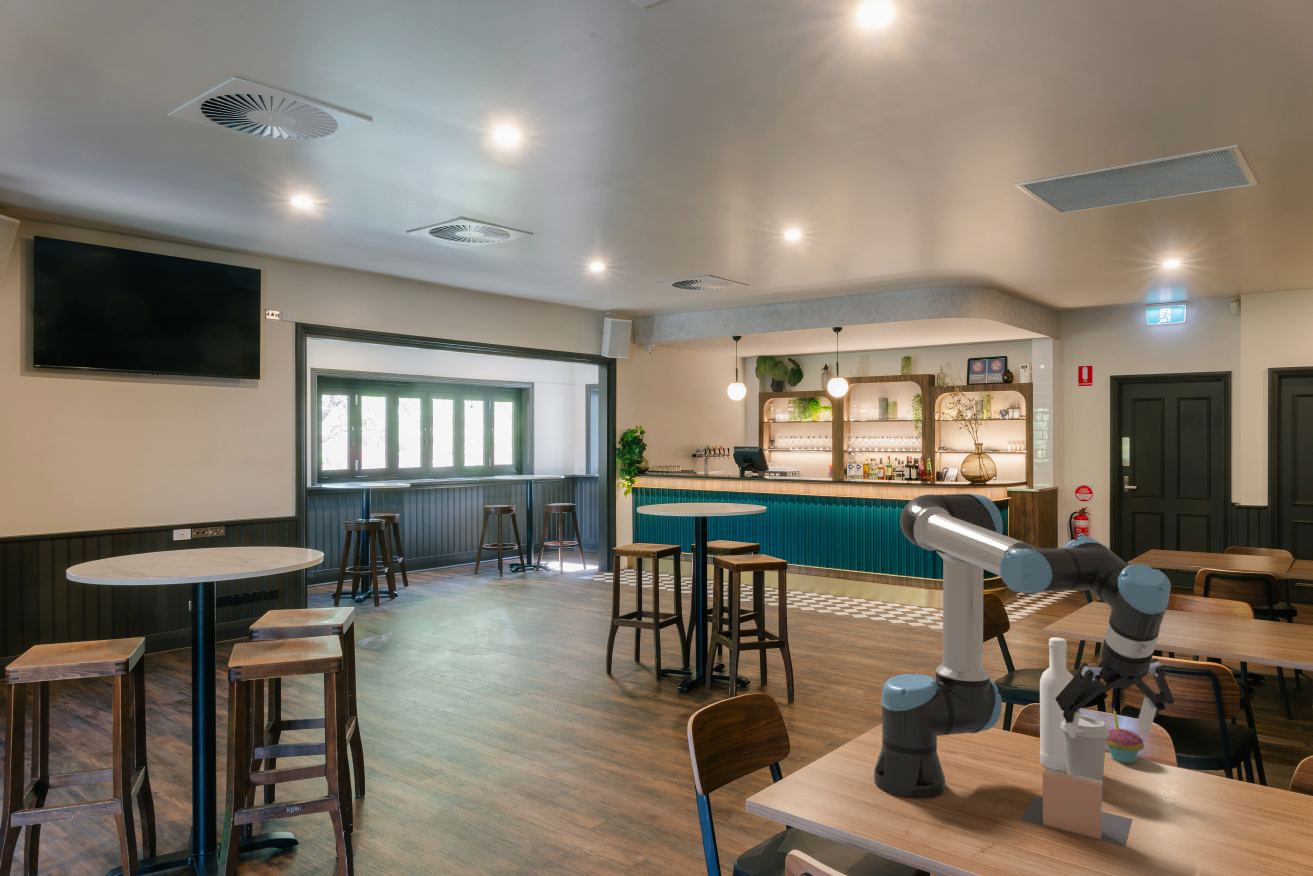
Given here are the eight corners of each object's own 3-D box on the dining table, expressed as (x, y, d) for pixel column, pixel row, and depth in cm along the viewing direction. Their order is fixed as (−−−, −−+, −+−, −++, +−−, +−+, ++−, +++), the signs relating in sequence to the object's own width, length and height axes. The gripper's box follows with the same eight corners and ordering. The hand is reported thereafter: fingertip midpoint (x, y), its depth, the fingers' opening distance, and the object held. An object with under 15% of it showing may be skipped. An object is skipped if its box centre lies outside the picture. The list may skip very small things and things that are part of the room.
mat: (1020, 822, 157) (1020, 819, 157) (1034, 798, 168) (1034, 795, 168) (1124, 849, 147) (1124, 846, 147) (1132, 821, 158) (1132, 818, 158)
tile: (1043, 824, 155) (1042, 773, 155) (1045, 818, 158) (1045, 768, 158) (1100, 839, 149) (1100, 786, 150) (1102, 833, 152) (1102, 781, 152)
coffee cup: (1116, 800, 168) (1116, 729, 168) (1068, 796, 170) (1067, 726, 170) (1100, 782, 177) (1100, 715, 178) (1055, 778, 179) (1054, 712, 179)
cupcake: (1101, 760, 190) (1101, 710, 190) (1104, 750, 197) (1104, 702, 197) (1143, 769, 185) (1142, 717, 185) (1145, 757, 192) (1144, 708, 192)
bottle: (1078, 763, 188) (1077, 637, 188) (1076, 775, 181) (1075, 644, 182) (1041, 757, 192) (1040, 633, 193) (1038, 767, 185) (1037, 640, 186)
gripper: (1066, 665, 135) (1047, 750, 145) (1214, 656, 134) (1185, 742, 144) (1047, 635, 142) (1030, 718, 152) (1188, 626, 141) (1162, 710, 151)
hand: (1106, 730), depth 148 cm, fingers open, 13 cm apart
